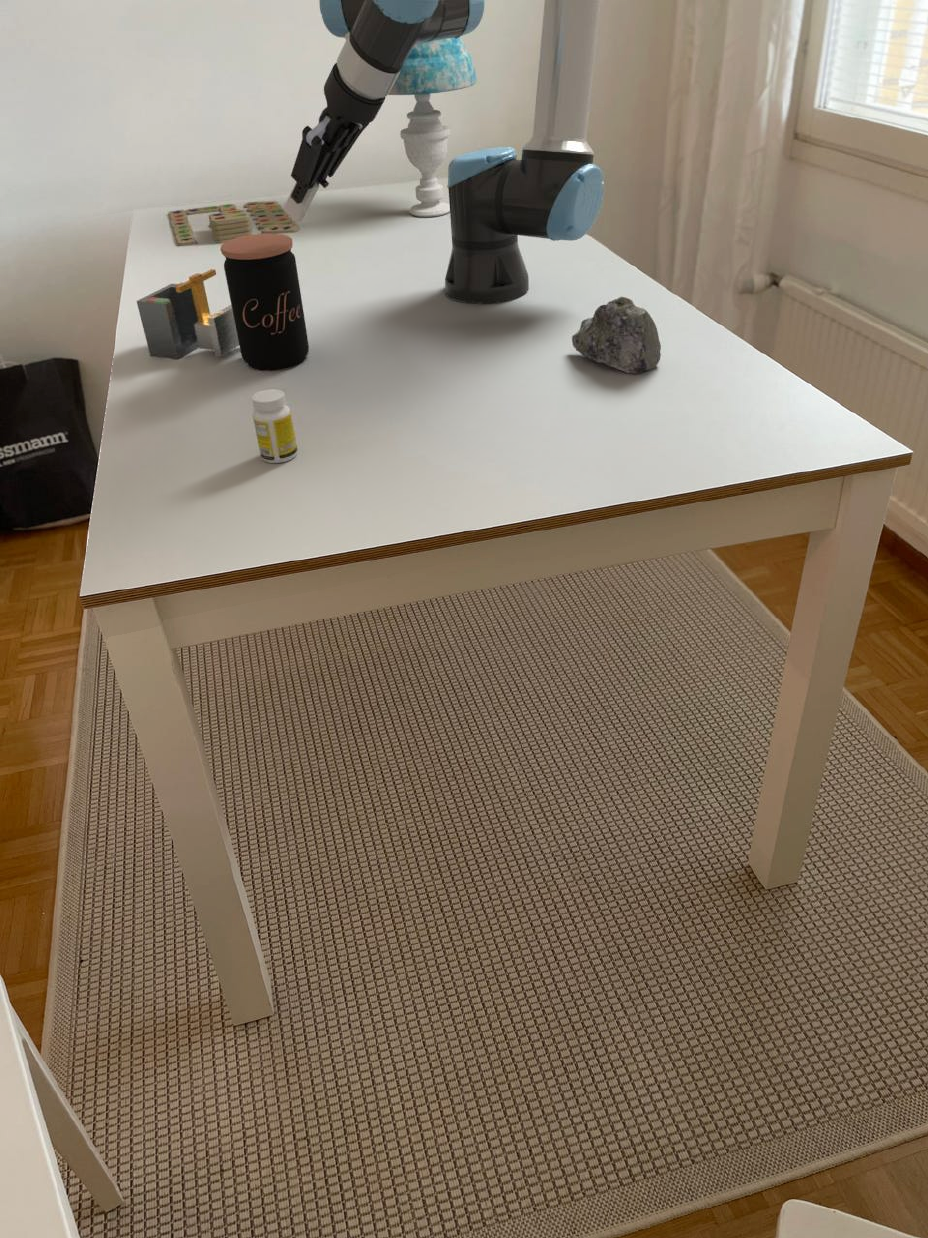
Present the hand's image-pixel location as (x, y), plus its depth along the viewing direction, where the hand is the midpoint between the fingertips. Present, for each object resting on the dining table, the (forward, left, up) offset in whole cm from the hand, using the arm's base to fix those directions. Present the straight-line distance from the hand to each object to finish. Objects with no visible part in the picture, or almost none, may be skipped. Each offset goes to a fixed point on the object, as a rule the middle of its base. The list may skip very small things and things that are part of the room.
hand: (292, 214), depth 144 cm
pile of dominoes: (+64, -68, -22) cm, 96 cm away
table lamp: (+20, -86, -22) cm, 91 cm away
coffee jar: (+5, +3, -22) cm, 22 cm away
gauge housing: (+24, +3, -21) cm, 32 cm away
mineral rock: (-47, -11, -22) cm, 53 cm away
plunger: (+15, +3, -20) cm, 25 cm away
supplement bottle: (-15, +32, -22) cm, 42 cm away
